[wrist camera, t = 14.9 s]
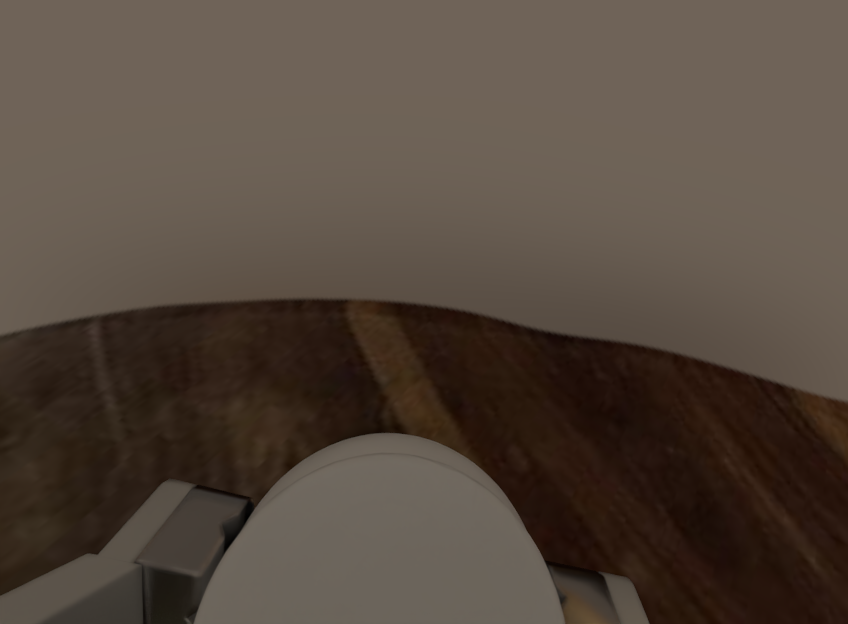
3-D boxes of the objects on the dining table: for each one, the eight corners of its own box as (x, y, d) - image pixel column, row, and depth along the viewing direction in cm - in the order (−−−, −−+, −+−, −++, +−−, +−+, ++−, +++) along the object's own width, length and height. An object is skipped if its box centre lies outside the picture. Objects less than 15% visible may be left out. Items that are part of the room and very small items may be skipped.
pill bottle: (377, 427, 14) (374, 312, 6) (510, 546, 13) (721, 599, 5) (245, 577, 12) (-18, 703, 4) (389, 731, 11) (415, 1305, 3)
